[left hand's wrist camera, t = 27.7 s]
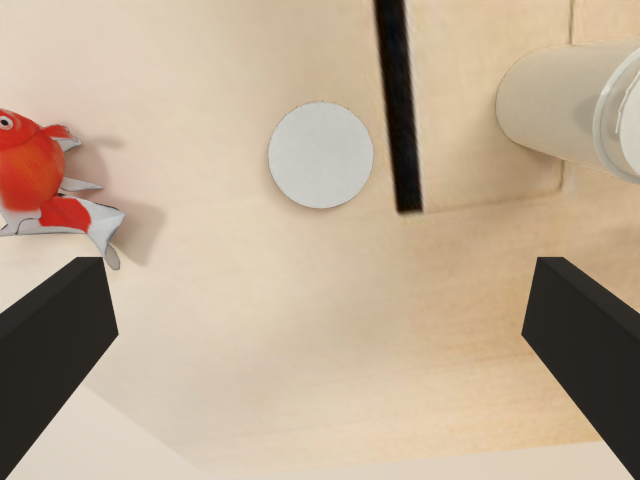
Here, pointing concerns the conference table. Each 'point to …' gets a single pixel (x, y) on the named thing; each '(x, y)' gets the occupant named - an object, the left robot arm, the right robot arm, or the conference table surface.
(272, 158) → the lid
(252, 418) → the conference table surface
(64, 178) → the fish
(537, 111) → the jar
